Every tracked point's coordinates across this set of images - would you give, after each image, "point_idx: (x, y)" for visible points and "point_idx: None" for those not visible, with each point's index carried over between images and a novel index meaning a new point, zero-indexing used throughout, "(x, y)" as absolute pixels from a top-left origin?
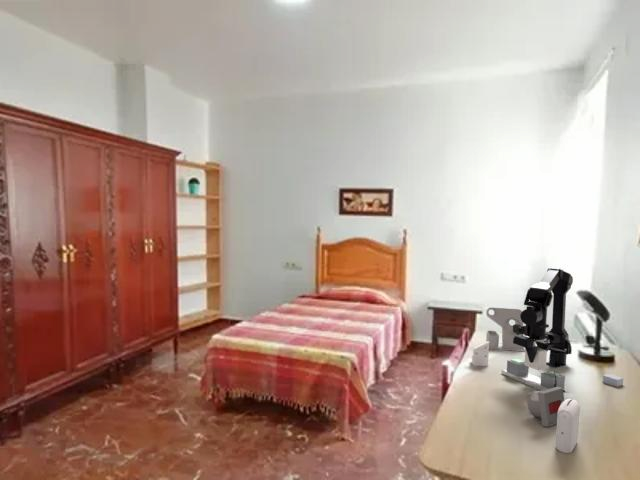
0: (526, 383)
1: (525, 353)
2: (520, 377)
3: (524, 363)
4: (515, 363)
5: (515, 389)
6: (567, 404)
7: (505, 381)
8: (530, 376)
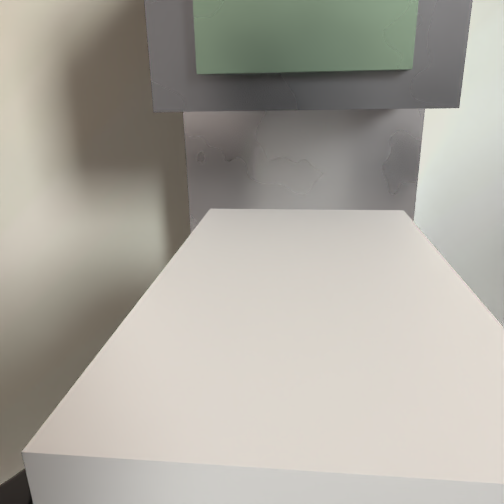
0: None
1: (137, 313)
2: (192, 163)
3: (327, 109)
4: (149, 50)
5: (2, 282)
6: None
7: (41, 93)
8: (342, 185)
